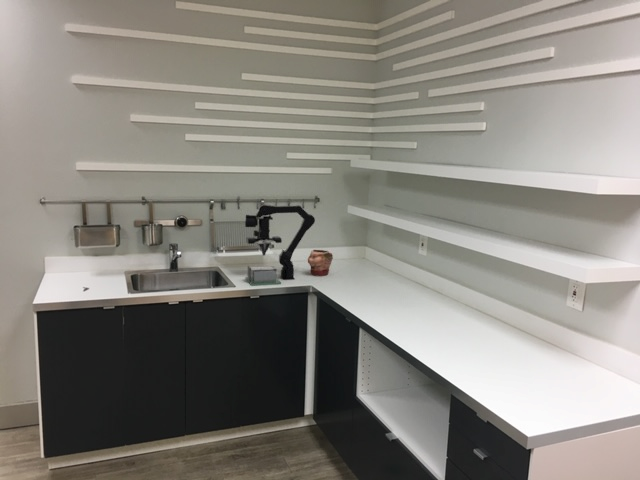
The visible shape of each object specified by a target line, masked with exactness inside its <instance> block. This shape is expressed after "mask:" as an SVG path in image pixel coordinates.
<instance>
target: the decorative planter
mask: <svg viewBox="0 0 640 480" xmlns="http://www.w3.org/2000/svg"><path fill="white" fill-rule="evenodd" d="M333 256H334V255H333V253H332V252H330V251H328V250H323V249H313V250H311V252H310V254H309V256H308V257H307V263H308V265H309V266H310V274H311V275H313V276H316V277H324V276H328V274H329V272H330V267H331V264H332V261H333V259H334V257H333Z"/></svg>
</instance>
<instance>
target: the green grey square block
mask: <svg viewBox="0 0 640 480" xmlns="http://www.w3.org/2000/svg"><path fill="white" fill-rule="evenodd" d="M250 267H251V266H249V265H247V276H245V280H246V281H247V283H248V284H249V285H250V286H251V287H253V286H254V287H257V286H270V285H271V286H272V285H273V286H274V285H281V284H282V281H280V280H279V278H277V268H275V269H274V270H251V268H250Z"/></svg>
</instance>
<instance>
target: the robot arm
mask: <svg viewBox="0 0 640 480" xmlns="http://www.w3.org/2000/svg"><path fill="white" fill-rule="evenodd" d="M289 213H290V214H292V213H294V214H295V213H296V214H298V215H299V216H300V218H302V221H301V224H300V226H299V228H298V230H297V232H296V233H295V235H294V236H293V238H292V240H291V241H290V243H289V244H288V246H287V248H286V249H282V250H281V252H280V253H279V255H278V261H279V264H280V265H281V266H282V267H281V270H280V278H281V279H282V280H295V277H294V276H295V275H294V274H295V271H294V270H295V268H294V263H293V261H292V257H293V254H294V252H295V250H296V248H297V247H298V245H299V244H300V242H301V241H302V239H303V237H304V236H305V234H306V233H307V231H308V230H310V228H311V227H312V226H313V225H314V224H315V222H316V220H315V219H316V218H315V217H314V216H313V214H311V213H308V212H307V211H306V210H305V209H303V207H302V206H301V205H299V204H297V205H271V204H266V203H263V204H261V205H260V206H259V208H258V212H256V213H255V214H254V215H253V214H246V215H245V222H244V223H245V224H244V225H245V228H256V227H257V226H258V230H253V236H248V237H246V239H245V240H246V243H247V244H249V245H251V244H255V243H256V245H258V246H259V248H260V250H261V253H262V256H266V253H267V251H268V249H269V247H270V246H271V245H272V242H275V243H276V244H279V243H280V244H281V243H282V238H281V237H280V236H272V237H270V221H271V220H272V221H273V218H274V217H272V215H275V214H289Z"/></svg>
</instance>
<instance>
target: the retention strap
mask: <svg viewBox="0 0 640 480" xmlns="http://www.w3.org/2000/svg"><path fill="white" fill-rule="evenodd" d="M249 267H250V268H251V270H274V269H276V268H275V266H267V267H266V266H261V267H260V266H257V267H256V266H253V267H251V266H249Z"/></svg>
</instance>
